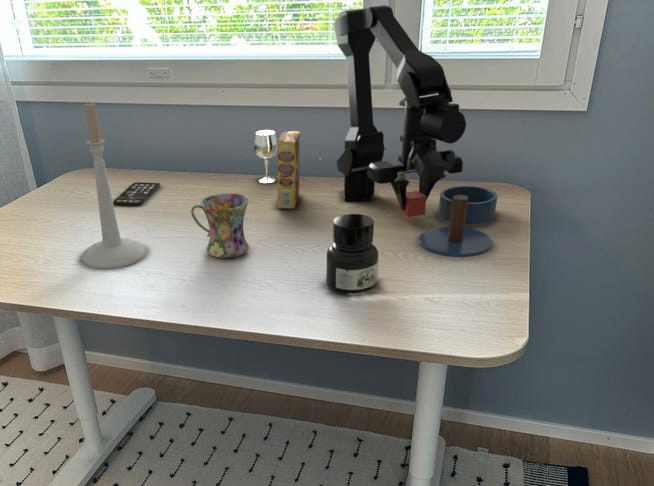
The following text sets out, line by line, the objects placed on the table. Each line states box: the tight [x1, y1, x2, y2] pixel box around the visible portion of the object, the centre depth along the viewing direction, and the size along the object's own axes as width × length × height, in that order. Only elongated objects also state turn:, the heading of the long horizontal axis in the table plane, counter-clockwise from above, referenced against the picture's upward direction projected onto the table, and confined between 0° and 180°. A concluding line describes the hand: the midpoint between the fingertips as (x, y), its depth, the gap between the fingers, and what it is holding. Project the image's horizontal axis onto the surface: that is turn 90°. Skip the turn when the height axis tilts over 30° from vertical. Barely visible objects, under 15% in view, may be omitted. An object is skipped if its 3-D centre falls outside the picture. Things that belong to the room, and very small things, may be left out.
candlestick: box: [81, 101, 146, 270], centre depth 131 cm, size 13×13×30 cm
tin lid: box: [418, 195, 493, 258], centre depth 132 cm, size 14×14×10 cm
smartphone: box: [112, 181, 161, 206], centre depth 170 cm, size 7×1×15 cm
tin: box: [437, 185, 499, 226], centre depth 145 cm, size 11×12×5 cm
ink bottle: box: [325, 213, 379, 295], centre depth 119 cm, size 10×9×12 cm
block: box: [398, 190, 427, 218], centre depth 143 cm, size 4×4×4 cm
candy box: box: [277, 130, 301, 210], centre depth 156 cm, size 9×4×15 cm, turn 169°
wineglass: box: [253, 129, 278, 184], centre depth 172 cm, size 6×6×12 cm
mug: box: [190, 192, 250, 259], centre depth 135 cm, size 12×9×11 cm
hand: (411, 208), depth 143 cm, fingers closed on block, 4 cm apart
